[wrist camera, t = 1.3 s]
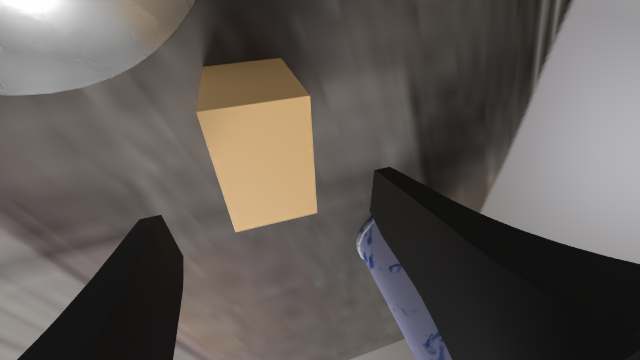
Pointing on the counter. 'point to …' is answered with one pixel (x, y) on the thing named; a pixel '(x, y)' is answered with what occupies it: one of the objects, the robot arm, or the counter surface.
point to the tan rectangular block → (259, 140)
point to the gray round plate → (79, 40)
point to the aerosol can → (401, 295)
